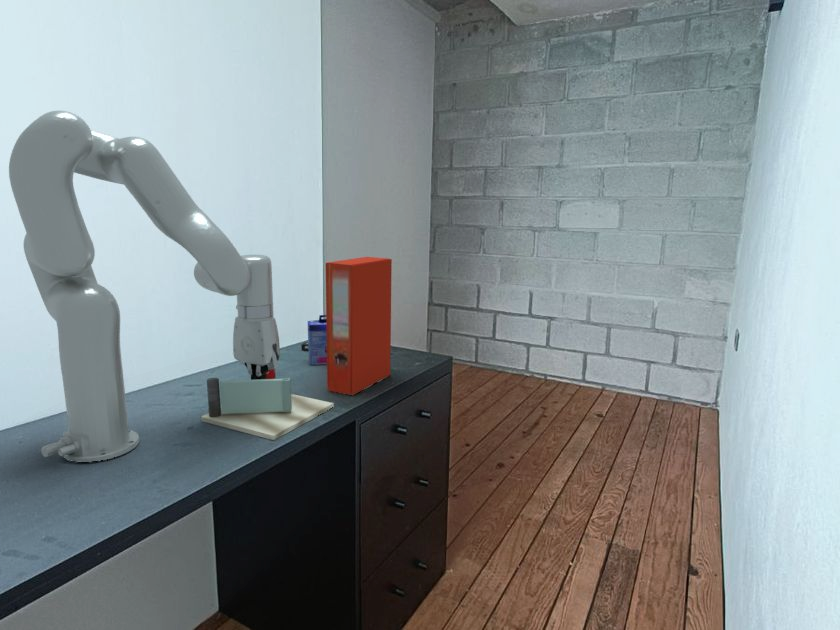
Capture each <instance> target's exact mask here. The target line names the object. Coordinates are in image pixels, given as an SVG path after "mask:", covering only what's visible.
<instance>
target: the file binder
mask: <svg viewBox="0 0 840 630" xmlns="http://www.w3.org/2000/svg"><path fill="white" fill-rule="evenodd" d="M325 308H326V309H325V313H326V314H325V315H326V317H325V319H326V327H327V364H326V378H327V379H326V382H327V383H326V384H327V386H326V387H327V388H326V389H327V390H328V391H329V392H332V391H333V392H332V393H336V392H338V393H337V394H341V393H345V394H351V395H353V394H355V393H357V392H359V391H361V390H363V389H364V388H366V387H368V386H370V385H372V384H374V383H375V382H377V381H379V380H381V379H383V378H385V377H387V376H389V375H390V376H391V351H392V350H391V348H392V347H391V346H392V345H391V343H392V342H391V340H392V338H391V337H392V334H391V333H392V331H391V330H392V328H391V327H392V324H391V323H392V258H387V257H386V258H385V257H373V256H363V257H356V258H355V257H354V258H350V259H342V260H335V261H329V262H328V261H327V262H325ZM363 391H364V390H363ZM361 392H362V391H361ZM345 394H344V395H345Z"/></svg>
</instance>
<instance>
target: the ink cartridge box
mask: <svg viewBox="0 0 840 630" xmlns="http://www.w3.org/2000/svg"><path fill="white" fill-rule="evenodd" d="M307 342H308V351H307V353H308V364H309V366H316V365H317V366H319V365H327V327H326V314H320V315H319V318H318V319H317V320H307Z"/></svg>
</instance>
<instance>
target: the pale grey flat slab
mask: <svg viewBox="0 0 840 630" xmlns="http://www.w3.org/2000/svg"><path fill="white" fill-rule="evenodd" d="M291 381H292V378H291V377H283V378H275V379H258V380H251V379H236V380H235V379H234V380H232V379H230V380H219V390H220V405H221V410H222V414H228V413H252V412H277V411H284V412H289V411H291V410H292V400H291V394H292V382H291Z"/></svg>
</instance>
